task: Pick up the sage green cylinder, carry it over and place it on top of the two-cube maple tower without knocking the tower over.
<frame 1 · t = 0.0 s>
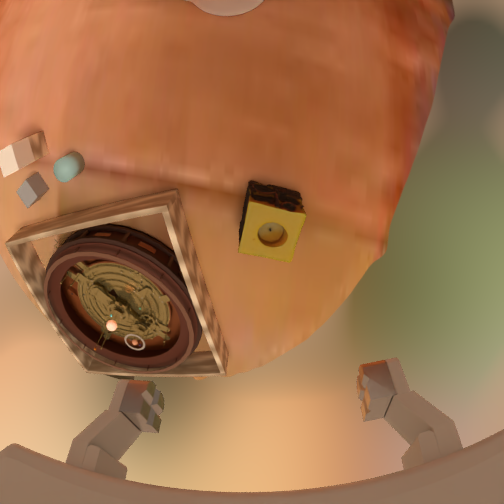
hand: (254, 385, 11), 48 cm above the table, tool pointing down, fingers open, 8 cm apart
sage green cylinder: (75, 163, 53), on the table
tower base: (38, 145, 51), on the table, touching tower top
tower top: (23, 152, 46), point 5 cm above the table, touching tower base
planetary model: (122, 293, 72), on the table
slate block: (38, 185, 56), on the table
orrery frame: (120, 295, 72), on the table
yellow dark brown cube: (268, 208, 59), on the table
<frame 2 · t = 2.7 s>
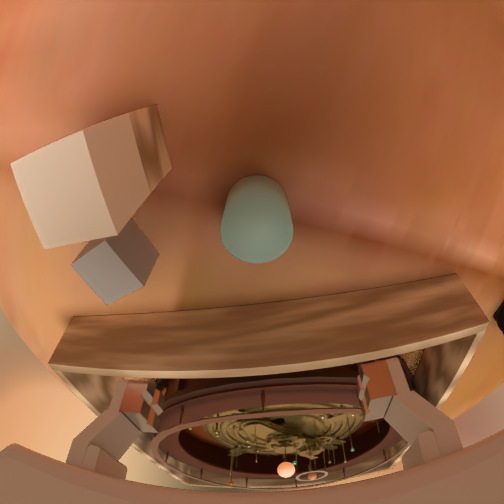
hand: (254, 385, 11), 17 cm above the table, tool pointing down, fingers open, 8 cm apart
sage green cylinder: (257, 203, 25), on the table
tower base: (133, 144, 22), on the table, touching tower top
tower top: (103, 164, 17), point 5 cm above the table, touching tower base
planetary model: (279, 409, 44), on the table
slate block: (125, 244, 27), on the table
orrery frame: (277, 411, 43), on the table
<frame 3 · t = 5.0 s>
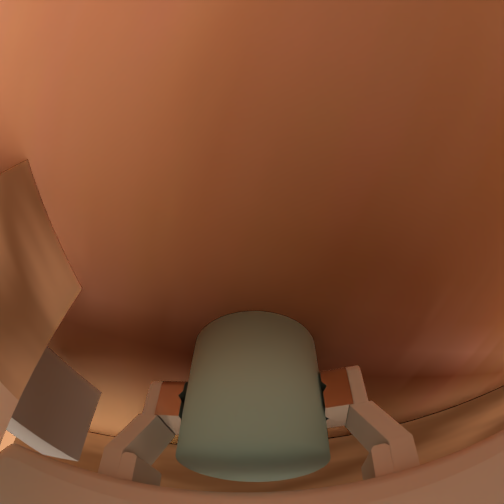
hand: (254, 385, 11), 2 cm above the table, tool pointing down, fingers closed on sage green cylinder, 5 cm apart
sage green cylinder: (254, 353, 12), on the table, touching gripper
tower base: (11, 239, 9), on the table, touching tower top
slate block: (53, 372, 15), on the table
orrery frame: (279, 499, 31), on the table
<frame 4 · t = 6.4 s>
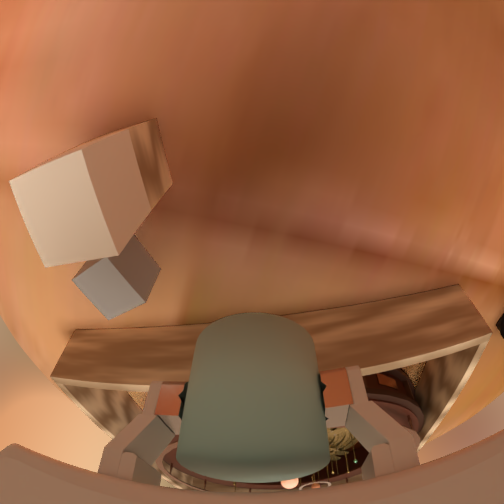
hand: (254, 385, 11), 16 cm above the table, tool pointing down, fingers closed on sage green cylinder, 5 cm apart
sage green cylinder: (255, 355, 12), point 14 cm above the table, touching gripper
tower base: (133, 159, 22), on the table, touching tower top
tower top: (103, 180, 17), point 5 cm above the table, touching tower base
planetary model: (282, 421, 44), on the table
slate block: (126, 259, 27), on the table
orrery frame: (280, 423, 43), on the table
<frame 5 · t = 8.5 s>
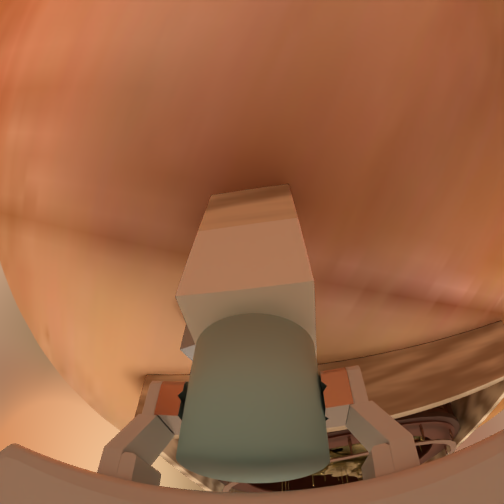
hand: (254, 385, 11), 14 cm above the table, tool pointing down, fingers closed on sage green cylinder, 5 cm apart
sage green cylinder: (255, 355, 12), point 12 cm above the table, touching gripper
tower base: (255, 223, 22), on the table, touching tower top
tower top: (254, 266, 18), point 5 cm above the table, touching tower base
planetary model: (333, 438, 45), on the table
slate block: (227, 316, 28), on the table
orrery frame: (332, 439, 43), on the table
when the fingers open (14 cm above the table, at t = 8.5 s): sage green cylinder drops 1 cm, resting on tower top.
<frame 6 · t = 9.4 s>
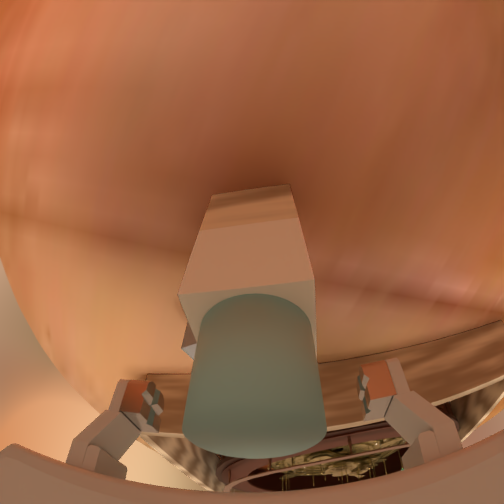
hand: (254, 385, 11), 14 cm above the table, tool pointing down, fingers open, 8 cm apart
sage green cylinder: (255, 336, 13), point 11 cm above the table, touching tower top
tower base: (256, 223, 23), on the table, touching tower top
tower top: (255, 265, 18), point 5 cm above the table, touching sage green cylinder, tower base
planetary model: (334, 438, 45), on the table
slate block: (228, 316, 28), on the table
orrery frame: (333, 438, 44), on the table
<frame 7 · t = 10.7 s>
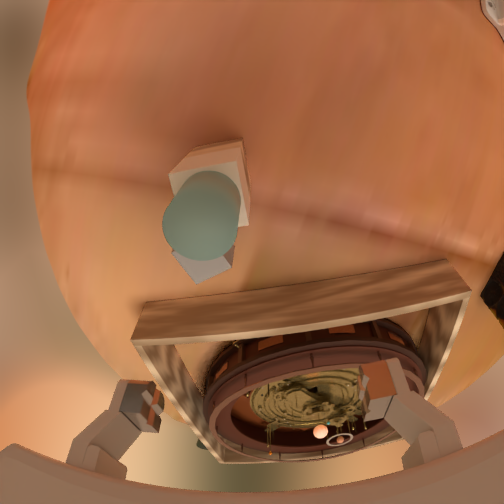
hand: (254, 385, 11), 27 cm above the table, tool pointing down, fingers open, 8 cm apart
sage green cylinder: (209, 200, 24), point 11 cm above the table, touching tower top
tower base: (223, 165, 33), on the table, touching tower top
tower top: (217, 179, 29), point 5 cm above the table, touching sage green cylinder, tower base
planetary model: (311, 383, 55), on the table
slate block: (207, 239, 38), on the table
orrery frame: (309, 381, 54), on the table
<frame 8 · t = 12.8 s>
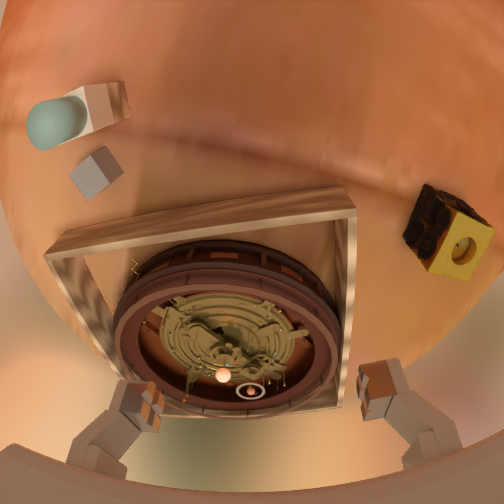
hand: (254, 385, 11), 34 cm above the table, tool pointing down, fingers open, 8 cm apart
sage green cylinder: (69, 117, 26), point 11 cm above the table, touching tower top
tower base: (110, 104, 35), on the table, touching tower top
tower top: (92, 109, 31), point 5 cm above the table, touching sage green cylinder, tower base
planetary model: (223, 328, 58), on the table, touching orrery frame
slate block: (104, 167, 41), on the table
orrery frame: (219, 324, 57), on the table
yellow dark brown cube: (433, 217, 44), on the table
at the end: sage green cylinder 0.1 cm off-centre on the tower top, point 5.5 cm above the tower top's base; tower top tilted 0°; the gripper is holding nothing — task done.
